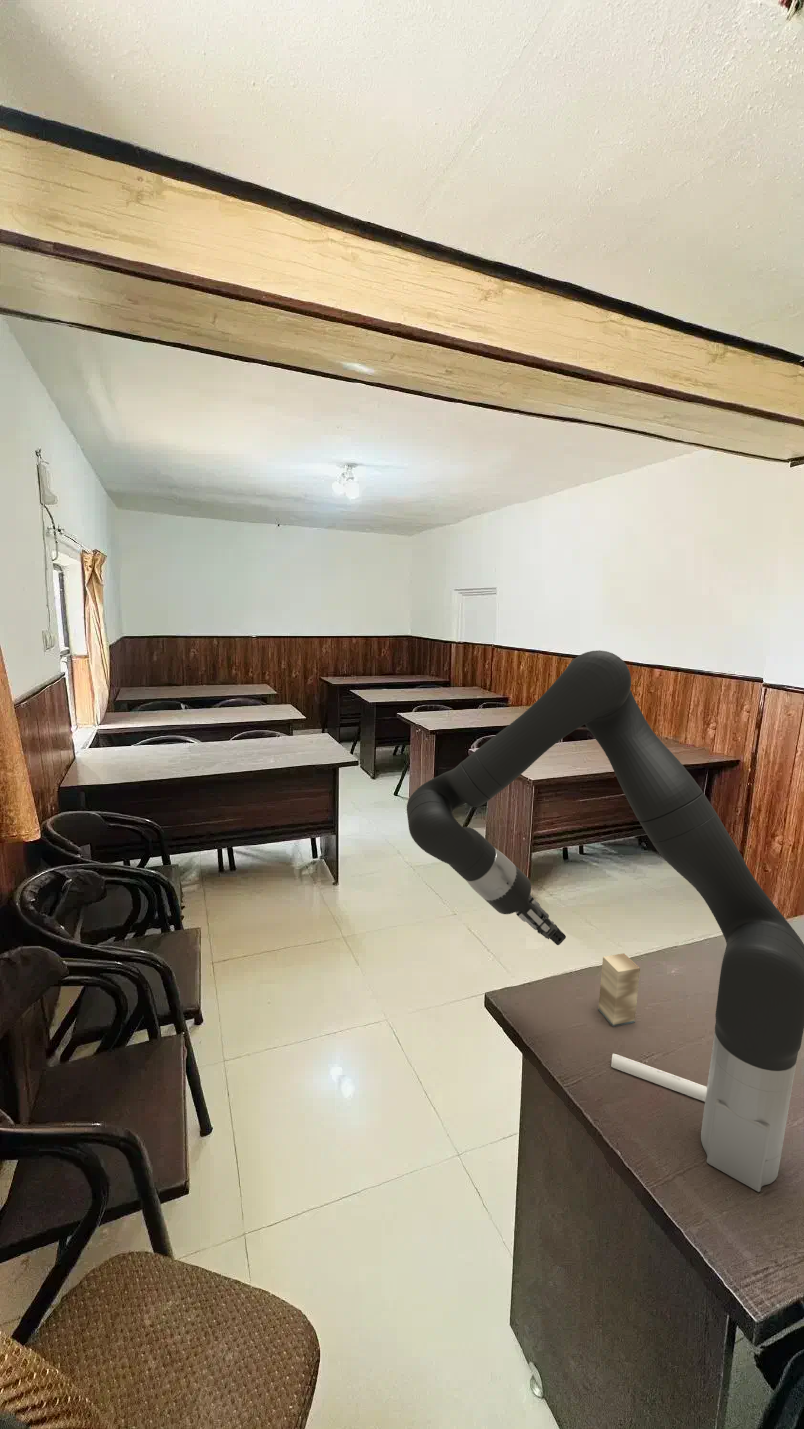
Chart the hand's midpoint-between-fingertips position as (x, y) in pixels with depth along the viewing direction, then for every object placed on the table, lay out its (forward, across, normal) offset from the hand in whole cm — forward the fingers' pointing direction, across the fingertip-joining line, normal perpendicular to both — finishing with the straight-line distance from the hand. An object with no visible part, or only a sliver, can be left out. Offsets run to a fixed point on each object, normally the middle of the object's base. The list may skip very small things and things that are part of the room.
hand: (558, 937), depth 96 cm
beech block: (+22, 0, +3) cm, 22 cm away
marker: (+22, -16, +4) cm, 27 cm away
